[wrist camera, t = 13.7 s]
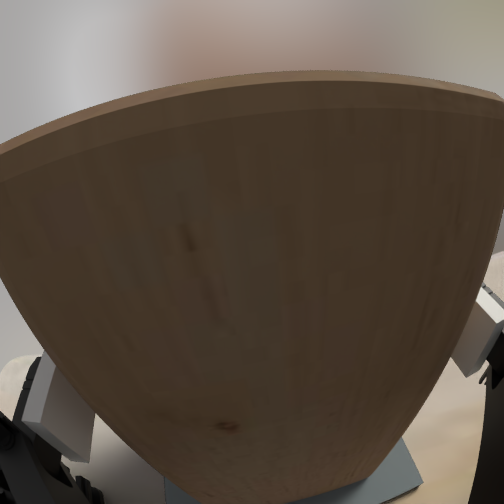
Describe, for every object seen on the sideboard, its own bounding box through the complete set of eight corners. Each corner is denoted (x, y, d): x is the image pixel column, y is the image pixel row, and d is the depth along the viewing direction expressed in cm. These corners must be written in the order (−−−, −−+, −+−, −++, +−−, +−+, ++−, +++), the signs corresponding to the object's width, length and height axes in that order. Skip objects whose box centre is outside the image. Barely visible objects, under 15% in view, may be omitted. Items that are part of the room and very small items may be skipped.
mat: (349, 345, 25) (350, 340, 24) (420, 484, 13) (423, 482, 12) (164, 383, 23) (162, 379, 23) (173, 544, 11) (169, 543, 11)
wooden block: (215, 515, 13) (-53, 173, 2) (199, 394, 21) (107, 110, 11) (373, 476, 14) (523, 100, 3) (325, 366, 22) (330, 77, 12)
